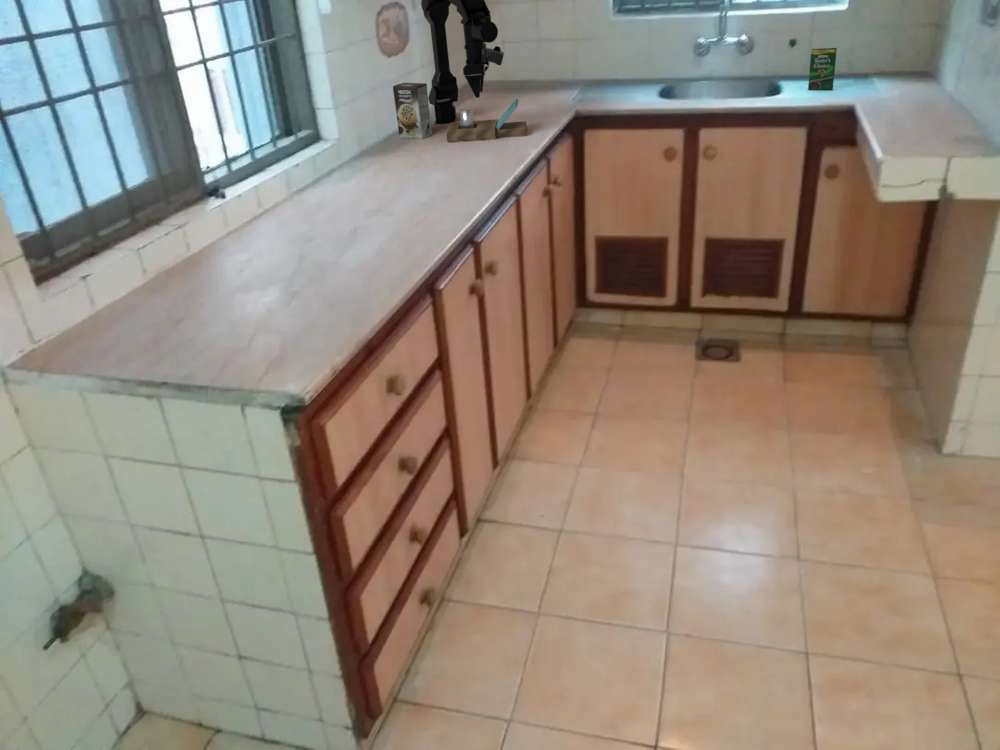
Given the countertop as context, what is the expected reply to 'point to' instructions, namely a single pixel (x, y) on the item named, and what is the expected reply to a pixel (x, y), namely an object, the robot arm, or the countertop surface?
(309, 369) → the countertop surface
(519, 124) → the socket block
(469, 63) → the robot arm
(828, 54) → the coffee box
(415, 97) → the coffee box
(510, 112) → the latch flap
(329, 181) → the countertop surface
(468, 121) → the peg
